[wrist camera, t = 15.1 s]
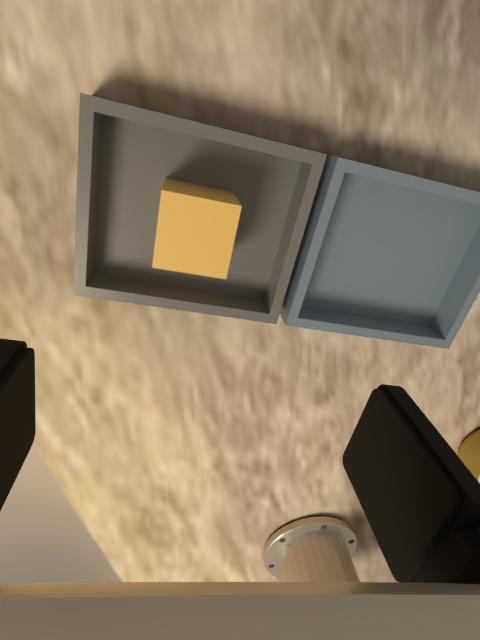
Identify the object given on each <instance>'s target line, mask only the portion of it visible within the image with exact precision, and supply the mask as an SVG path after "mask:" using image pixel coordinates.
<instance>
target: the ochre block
mask: <svg viewBox="0 0 480 640" xmlns="http://www.w3.org/2000/svg"><path fill="white" fill-rule="evenodd" d="M241 208H242V205H241V204H240V202H239V201H238V199H237V197H236V196H235V194H234V192H230V191H225V190H220V189H216V188H211V187H206V186H201V185H196V184H192V183H187V182H182V181H177V180H172V179H167V178H165V181H164V184H163V187H162V190H161V197H160V206H159V214H158V222H157V230H156V239H155V247H154V255H153V263H152V268H158V269H164V270H170V271H176V272H183V273H189V274H195V275H202V276H208V277H214V278H221V279H226V278H227V273H228V269H229V264H230V259H231V255H232V250H233V245H234V241H235V236H236V231H237V227H238V222H239V217H240V213H241Z"/></svg>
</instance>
